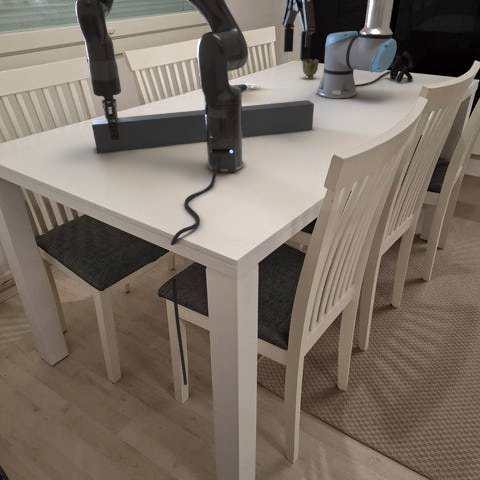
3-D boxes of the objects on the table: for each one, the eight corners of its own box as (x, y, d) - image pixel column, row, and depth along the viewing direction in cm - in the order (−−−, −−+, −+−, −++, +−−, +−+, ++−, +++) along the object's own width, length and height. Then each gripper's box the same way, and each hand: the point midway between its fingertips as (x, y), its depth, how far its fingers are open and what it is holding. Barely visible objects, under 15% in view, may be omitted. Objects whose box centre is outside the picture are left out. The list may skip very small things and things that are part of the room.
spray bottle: (204, 97, 180) (243, 86, 196) (225, 101, 174) (263, 90, 190) (204, 90, 178) (243, 79, 194) (225, 94, 172) (263, 83, 188)
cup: (298, 79, 205) (299, 60, 201) (304, 76, 210) (305, 58, 206) (314, 80, 202) (315, 62, 198) (319, 77, 207) (321, 59, 203)
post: (97, 152, 130) (91, 124, 125) (97, 147, 134) (91, 120, 129) (312, 129, 144) (314, 103, 140) (306, 125, 148) (308, 100, 144)
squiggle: (400, 92, 202) (376, 71, 205) (417, 76, 202) (392, 56, 205) (405, 81, 191) (380, 59, 194) (423, 64, 191) (397, 42, 194)
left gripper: (119, 80, 117) (129, 143, 126) (117, 69, 129) (126, 127, 138) (90, 82, 115) (102, 145, 124) (90, 71, 127) (101, 130, 136)
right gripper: (332, -28, 112) (325, 62, 123) (296, -29, 133) (293, 48, 144) (304, -27, 111) (300, 63, 122) (272, -28, 131) (270, 49, 142)
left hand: (115, 136), depth 131 cm, fingers closed on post, 4 cm apart
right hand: (296, 55), depth 133 cm, fingers open, 13 cm apart
